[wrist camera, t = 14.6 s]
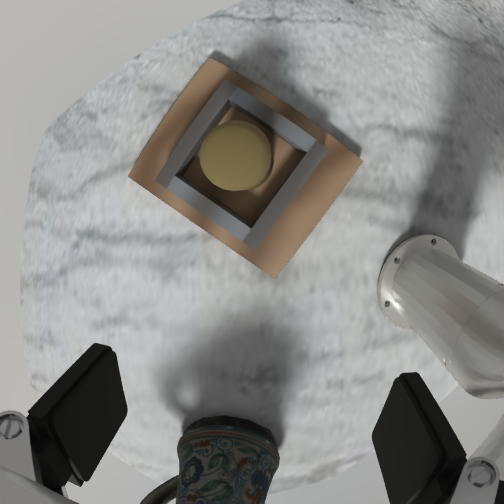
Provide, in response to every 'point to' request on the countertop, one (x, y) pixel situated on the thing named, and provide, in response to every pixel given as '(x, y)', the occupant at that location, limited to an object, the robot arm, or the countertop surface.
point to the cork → (236, 156)
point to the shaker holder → (249, 201)
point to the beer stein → (221, 464)
